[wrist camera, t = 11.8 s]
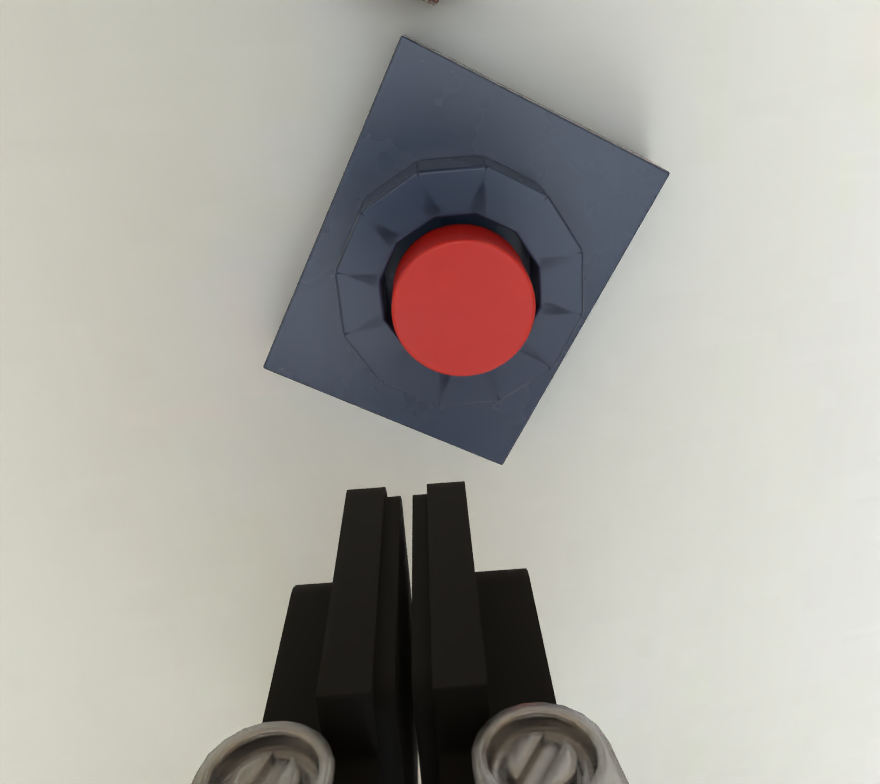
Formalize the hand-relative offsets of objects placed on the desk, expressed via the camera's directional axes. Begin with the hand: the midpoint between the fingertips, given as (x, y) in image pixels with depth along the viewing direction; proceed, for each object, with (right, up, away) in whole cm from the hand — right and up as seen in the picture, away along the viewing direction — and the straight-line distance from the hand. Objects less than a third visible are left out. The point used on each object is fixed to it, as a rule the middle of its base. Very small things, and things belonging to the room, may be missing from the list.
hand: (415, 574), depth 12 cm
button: (+1, +5, +10) cm, 11 cm away
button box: (+1, +7, +13) cm, 15 cm away
